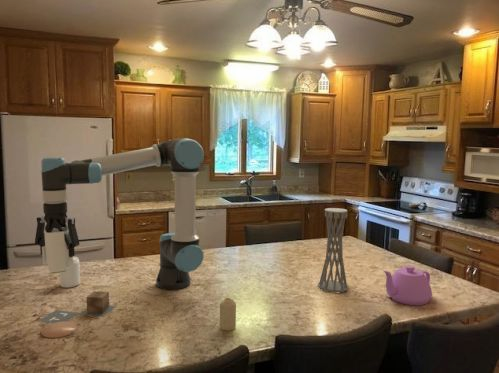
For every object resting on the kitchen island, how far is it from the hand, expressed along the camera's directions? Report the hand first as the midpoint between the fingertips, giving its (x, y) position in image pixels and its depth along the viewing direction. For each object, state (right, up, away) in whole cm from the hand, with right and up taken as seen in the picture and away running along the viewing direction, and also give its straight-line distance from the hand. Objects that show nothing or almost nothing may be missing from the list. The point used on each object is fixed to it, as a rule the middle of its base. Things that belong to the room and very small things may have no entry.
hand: (58, 264), depth 147 cm
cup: (0, -3, 0) cm, 3 cm away
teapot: (+133, -19, +25) cm, 137 cm away
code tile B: (+11, -19, +9) cm, 23 cm away
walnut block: (+11, -19, +9) cm, 23 cm away
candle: (+61, -21, -4) cm, 64 cm away
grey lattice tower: (+105, -17, +37) cm, 113 cm away
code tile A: (0, -19, +2) cm, 19 cm away
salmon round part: (+4, -20, -8) cm, 22 cm away
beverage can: (-11, -16, +35) cm, 40 cm away
